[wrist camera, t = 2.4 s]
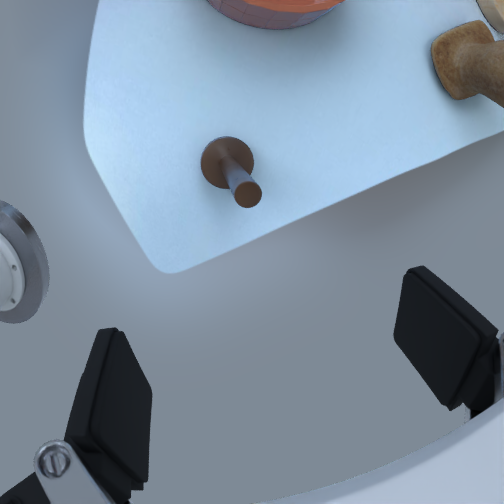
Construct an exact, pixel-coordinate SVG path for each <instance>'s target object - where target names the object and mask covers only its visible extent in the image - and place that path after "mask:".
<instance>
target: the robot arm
mask: <svg viewBox="0 0 504 504" xmlns="http://www.w3.org/2000/svg"><path fill="white" fill-rule="evenodd" d="M24 289H25V277H24V271H23V268H22V264H21V261H20V259H19V257H18V255H17V253H16V251H15V250H14V248H13V246H12V245H11V244H10V243H9V241H8V240H7V239H6V238H5V237H4V236H3V235H2V234H1V233H0V311H7V310H11V309H12V308H14V307H15V306H16V305H17V304H18V303H19V301H20V300H21V299H22V296H23V294H24ZM497 333H498V329H497V328H496V327H495V326H494V325H492V324H491V323H490V322H489V321H488V320H487V319H486V318H485V317H484V316H483V315H481V313H479V312H478V311H477V310H476V309H475V308H474V307H473V306H472V305H470V304H469V303H468V302H467V301H466V300H465V299H464V298H462V297H461V296H460V295H459V294H458V293H457V292H455V291H454V290H453V289H452V288H451V287H449V286H448V285H447V284H446V283H445V282H443V281H442V280H441V279H440V278H439V277H437V276H436V275H435V274H434V273H432V272H431V271H430V270H429V269H427V268H426V267H425V266H418V267H414V268H411V269H408V271H407V272H406V274H405V275H404V277H403V283H402V290H401V296H400V302H399V308H398V313H397V318H396V323H395V328H394V340H395V342H396V344H397V345H398V346H399V348H400V349H401V350H402V351H403V353H404V354H405V355H406V357H407V358H408V359H409V360H410V362H411V363H412V365H413V366H414V367H415V369H416V370H417V371H418V372H419V374H420V375H421V377H422V378H423V379H424V381H425V382H426V383H427V385H428V386H429V388H430V389H431V390H432V392H433V393H434V395H435V396H436V397H437V399H438V400H439V402H440V403H441V404H442V405H445V406H447V408H448V409H449V411H452V410H453V409H455V408H457V407H458V406H460V405H461V404H462V403H464V404H465V405H466V410H465V420H464V424H463V425H462V426H460V427H458V428H457V429H455V430H453V431H452V432H450V433H448V434H446V435H445V436H443V437H441V438H439V439H438V440H436V441H434V442H432V443H430V444H428V445H426V446H424V447H422V448H420V449H419V450H416V451H414V452H412V453H410V454H408V455H406V456H404V457H402V458H400V459H398V460H395V461H393V462H391V463H389V464H386V465H384V466H382V467H379V468H377V469H374V470H372V471H369V472H366V473H364V474H361V475H359V476H356V477H353V478H350V479H347V480H344V481H341V482H339V483H335V484H332V485H329V486H326V487H322V488H319V489H315V490H312V491H308V492H304V493H300V494H297V495H292V496H288V497H284V498H280V499H274V500H269V501H264V502H259V503H253V504H504V333H503V334H502V335H501V336H500V338H499V339H497V338H496V335H497ZM151 407H152V390H151V387H150V385H149V383H148V381H147V379H146V377H145V375H144V373H143V371H142V370H141V367H140V365H139V363H138V361H137V359H136V357H135V355H134V353H133V351H132V349H131V347H130V345H129V342H128V340H127V338H126V336H125V334H124V332H122V331H119V330H118V329H117V328H106V329H100V330H99V331H98V333H97V335H96V338H95V341H94V343H93V346H92V349H91V352H90V355H89V358H88V361H87V364H86V368H85V370H84V373H83V374H82V376H81V379H80V382H79V386H78V389H77V392H76V395H75V399H74V403H73V406H72V410H71V413H70V417H69V421H68V425H67V429H66V433H65V437H64V441H63V440H51V441H48V442H46V443H44V444H43V445H42V446H41V447H40V448H39V449H38V450H37V452H36V454H35V457H34V469H35V472H34V473H33V474H31V475H30V476H28V477H27V478H25V479H24V480H23V481H21V482H20V483H18V484H17V485H16V486H14V487H13V488H11V489H10V490H9V491H7V492H6V493H5V494H3V495H2V496H1V497H0V504H134V503H133V502H132V501H131V500H130V498H131V490H143V483H144V482H147V481H148V468H149V441H150V422H151Z"/></svg>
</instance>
